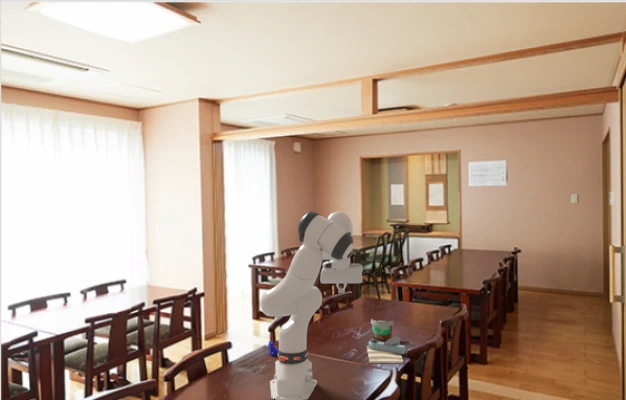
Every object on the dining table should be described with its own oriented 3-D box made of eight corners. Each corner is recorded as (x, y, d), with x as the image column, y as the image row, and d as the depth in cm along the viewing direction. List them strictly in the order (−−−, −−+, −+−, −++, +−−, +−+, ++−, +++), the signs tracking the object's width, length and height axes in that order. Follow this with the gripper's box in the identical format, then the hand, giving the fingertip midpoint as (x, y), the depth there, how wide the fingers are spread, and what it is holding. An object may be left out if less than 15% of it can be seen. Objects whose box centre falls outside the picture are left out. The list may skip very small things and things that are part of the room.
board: (403, 363, 196) (403, 351, 196) (369, 363, 197) (369, 351, 197) (397, 347, 216) (397, 337, 216) (366, 347, 217) (366, 337, 217)
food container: (367, 340, 229) (367, 320, 229) (371, 336, 234) (371, 317, 234) (390, 343, 223) (390, 323, 223) (394, 339, 229) (393, 320, 229)
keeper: (384, 354, 207) (384, 342, 207) (393, 347, 216) (393, 336, 216) (392, 356, 205) (392, 344, 205) (401, 349, 214) (401, 337, 214)
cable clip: (291, 349, 217) (291, 337, 217) (294, 352, 213) (294, 340, 213) (268, 353, 213) (267, 340, 213) (270, 356, 209) (270, 343, 209)
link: (367, 348, 212) (367, 342, 212) (371, 345, 216) (370, 339, 216) (402, 354, 203) (402, 348, 203) (405, 351, 207) (405, 345, 207)
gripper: (362, 262, 212) (363, 290, 213) (320, 262, 214) (320, 291, 214) (363, 264, 206) (363, 293, 206) (319, 264, 207) (320, 294, 207)
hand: (341, 292), depth 210 cm, fingers closed
